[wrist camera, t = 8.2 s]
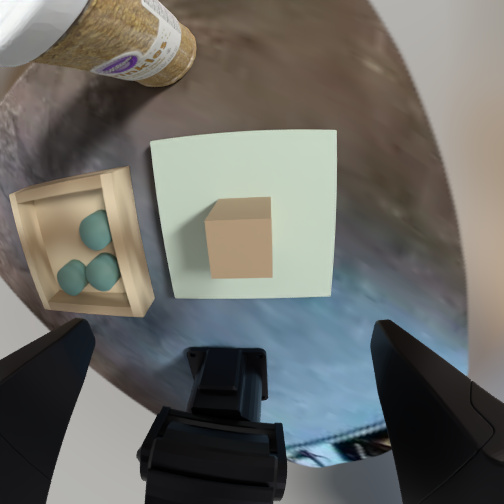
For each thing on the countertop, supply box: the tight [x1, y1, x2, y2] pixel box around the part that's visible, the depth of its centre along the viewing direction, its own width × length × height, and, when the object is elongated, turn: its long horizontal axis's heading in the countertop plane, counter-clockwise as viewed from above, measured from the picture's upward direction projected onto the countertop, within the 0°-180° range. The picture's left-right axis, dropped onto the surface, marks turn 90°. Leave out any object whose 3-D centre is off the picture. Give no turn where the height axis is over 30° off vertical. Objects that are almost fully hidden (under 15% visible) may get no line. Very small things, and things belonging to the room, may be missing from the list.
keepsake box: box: [9, 166, 155, 317], centre depth 19 cm, size 10×10×2 cm
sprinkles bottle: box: [0, 0, 196, 87], centre depth 8 cm, size 5×5×13 cm
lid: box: [150, 129, 337, 299], centre depth 16 cm, size 11×11×5 cm
